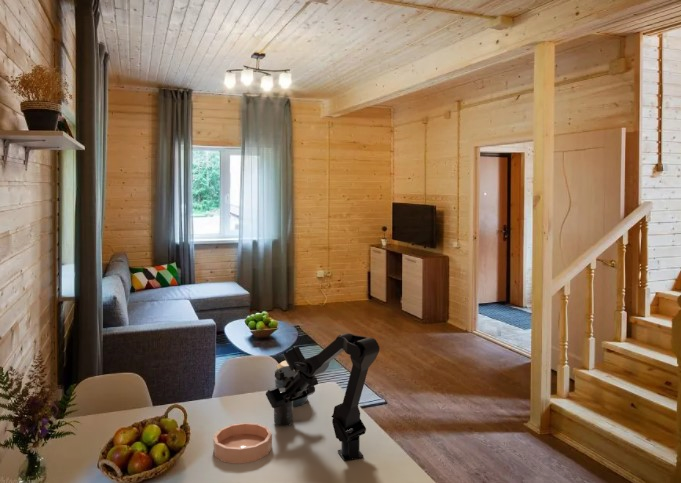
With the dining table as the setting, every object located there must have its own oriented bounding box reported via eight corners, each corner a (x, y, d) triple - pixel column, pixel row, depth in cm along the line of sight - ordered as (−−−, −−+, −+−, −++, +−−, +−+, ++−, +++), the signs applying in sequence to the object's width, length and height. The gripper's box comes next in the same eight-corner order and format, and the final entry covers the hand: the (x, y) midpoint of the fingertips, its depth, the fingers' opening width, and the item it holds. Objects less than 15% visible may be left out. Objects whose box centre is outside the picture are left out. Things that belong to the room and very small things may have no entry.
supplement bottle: (270, 424, 190) (269, 391, 189) (281, 417, 196) (280, 385, 195) (286, 428, 187) (285, 395, 185) (296, 420, 193) (296, 388, 191)
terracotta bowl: (276, 456, 167) (276, 443, 167) (218, 467, 161) (218, 453, 160) (264, 432, 184) (264, 419, 183) (211, 440, 178) (210, 427, 177)
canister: (270, 397, 214) (270, 354, 212) (301, 392, 220) (300, 350, 218) (281, 409, 202) (280, 364, 201) (312, 404, 208) (312, 360, 206)
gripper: (309, 355, 193) (290, 377, 202) (268, 367, 180) (249, 391, 188) (324, 381, 188) (304, 403, 197) (283, 396, 175) (263, 419, 184)
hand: (280, 403), depth 192 cm, fingers closed on supplement bottle, 7 cm apart
